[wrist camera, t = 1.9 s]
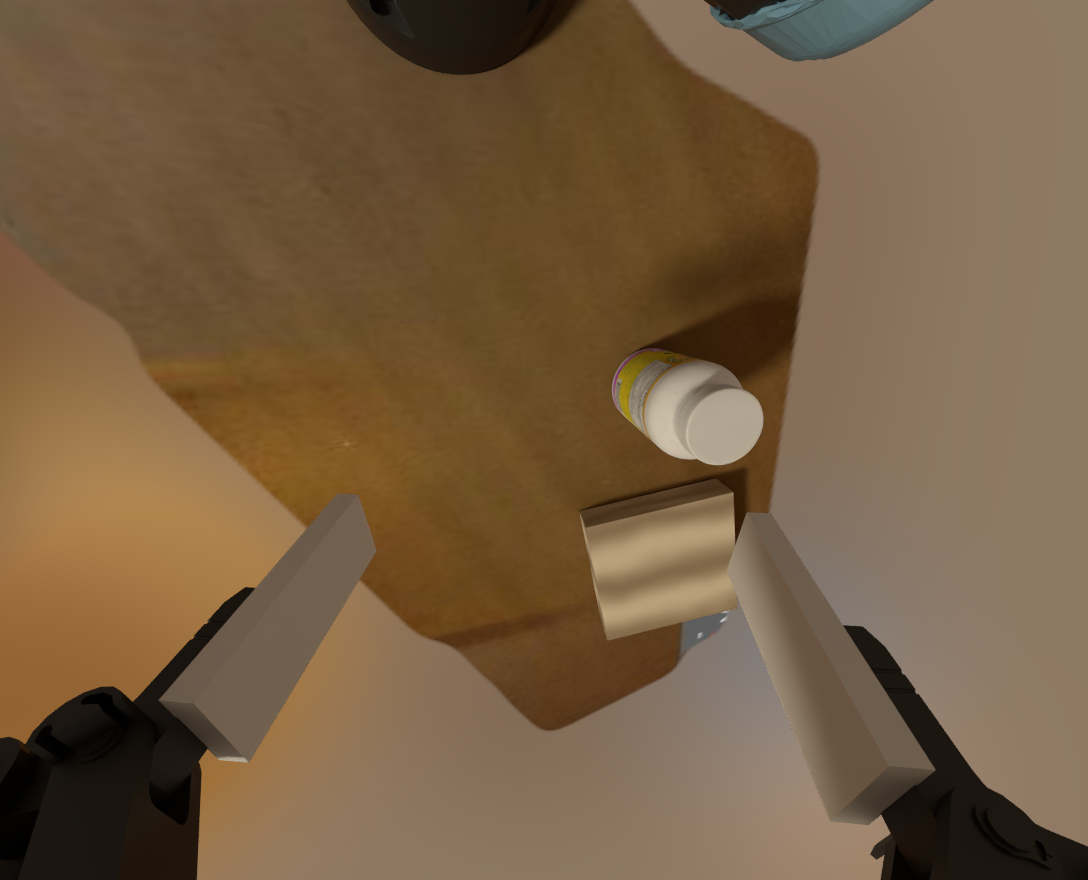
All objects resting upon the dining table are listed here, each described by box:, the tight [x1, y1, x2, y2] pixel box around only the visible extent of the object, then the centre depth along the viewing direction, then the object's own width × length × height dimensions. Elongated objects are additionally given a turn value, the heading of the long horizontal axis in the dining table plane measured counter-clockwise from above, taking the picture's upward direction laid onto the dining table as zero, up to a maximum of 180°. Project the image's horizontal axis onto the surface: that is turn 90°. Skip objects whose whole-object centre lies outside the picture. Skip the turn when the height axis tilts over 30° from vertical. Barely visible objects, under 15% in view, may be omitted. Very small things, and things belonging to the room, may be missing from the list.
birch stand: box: [580, 479, 737, 640], centre depth 39 cm, size 14×14×3 cm
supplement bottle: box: [612, 348, 763, 465], centre depth 28 cm, size 7×7×13 cm
